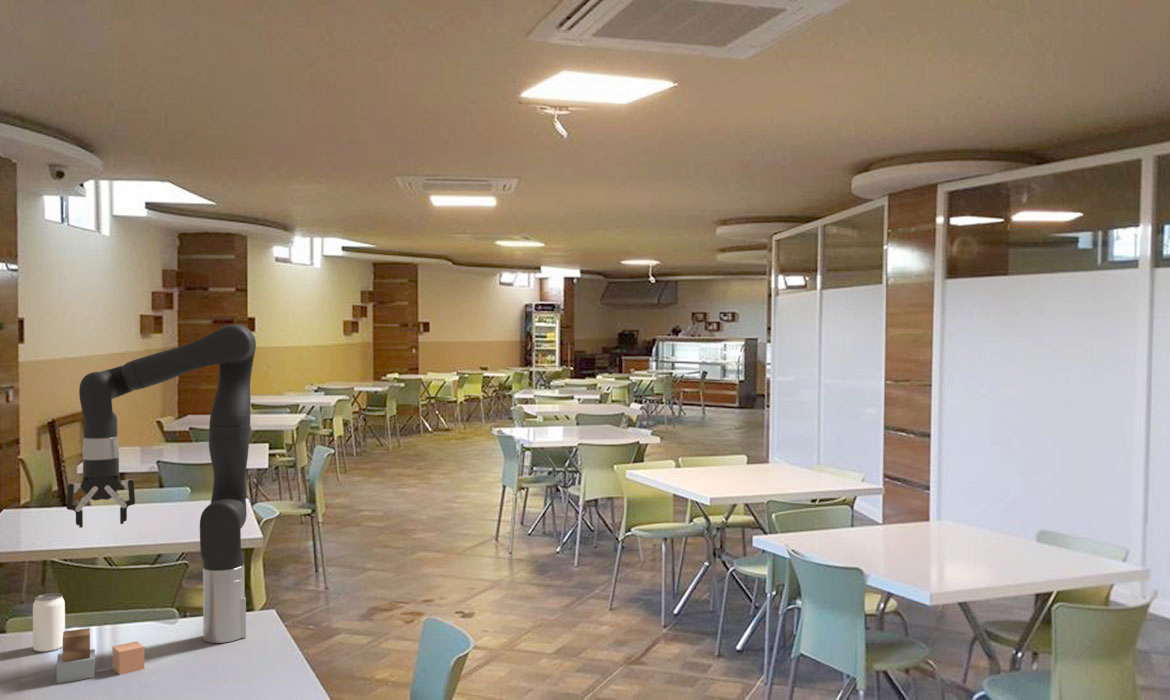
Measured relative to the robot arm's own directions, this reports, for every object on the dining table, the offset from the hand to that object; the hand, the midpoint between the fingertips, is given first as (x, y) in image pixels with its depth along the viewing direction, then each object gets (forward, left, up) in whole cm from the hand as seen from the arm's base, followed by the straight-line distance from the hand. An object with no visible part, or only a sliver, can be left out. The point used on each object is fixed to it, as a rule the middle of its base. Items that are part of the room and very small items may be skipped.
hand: (101, 525), depth 219 cm
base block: (+5, +20, -28) cm, 35 cm away
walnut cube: (+5, +20, -24) cm, 32 cm away
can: (+11, -3, -28) cm, 31 cm away
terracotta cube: (-5, +21, -28) cm, 36 cm away
